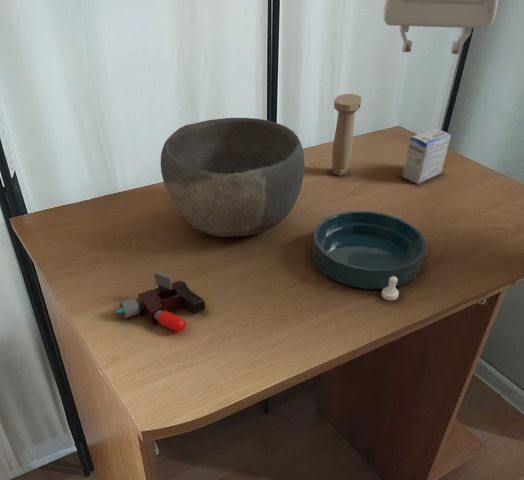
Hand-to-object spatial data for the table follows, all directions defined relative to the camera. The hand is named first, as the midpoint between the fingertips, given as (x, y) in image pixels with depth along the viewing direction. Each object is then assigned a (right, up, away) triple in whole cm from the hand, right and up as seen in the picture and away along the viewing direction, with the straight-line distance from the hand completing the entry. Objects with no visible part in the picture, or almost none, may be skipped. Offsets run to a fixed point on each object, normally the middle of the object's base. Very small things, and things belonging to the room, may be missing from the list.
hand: (430, 52), depth 104 cm
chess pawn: (-13, -50, -21) cm, 56 cm away
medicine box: (+1, -21, +10) cm, 23 cm away
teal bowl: (-15, -43, -14) cm, 47 cm away
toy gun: (-47, -54, -26) cm, 76 cm away
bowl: (-38, -35, -5) cm, 52 cm away
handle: (-16, -20, +10) cm, 28 cm away
